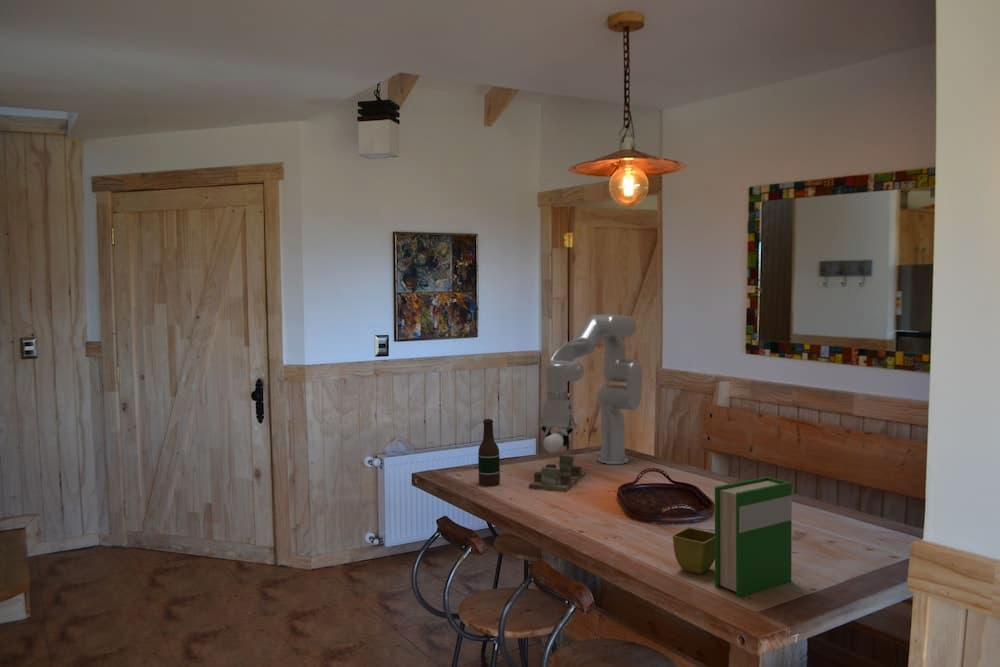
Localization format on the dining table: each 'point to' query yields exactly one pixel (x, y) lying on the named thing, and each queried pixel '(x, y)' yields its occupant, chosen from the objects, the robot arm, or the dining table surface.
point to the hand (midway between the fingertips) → (557, 444)
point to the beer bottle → (488, 457)
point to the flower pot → (694, 549)
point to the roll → (554, 440)
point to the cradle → (558, 475)
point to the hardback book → (753, 535)
